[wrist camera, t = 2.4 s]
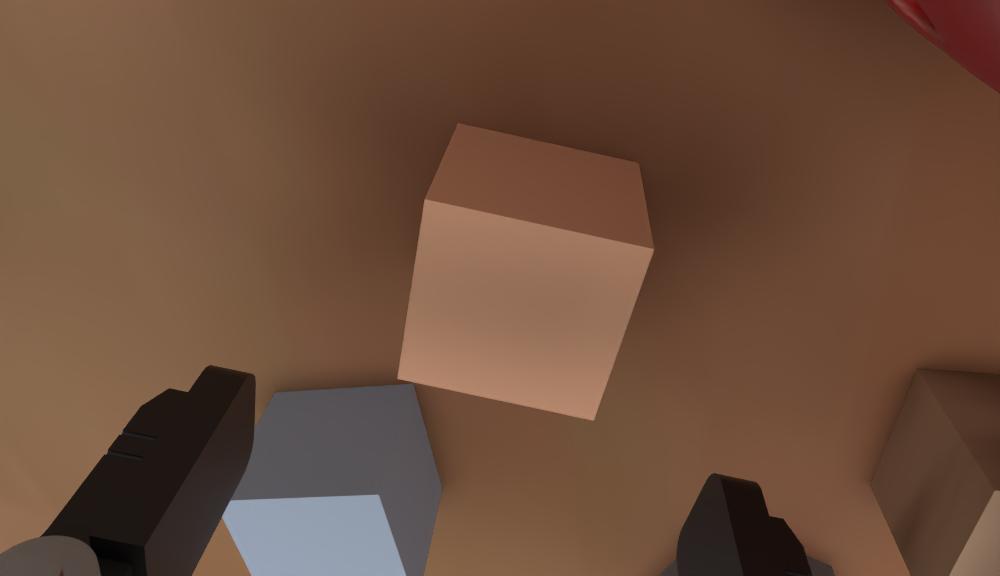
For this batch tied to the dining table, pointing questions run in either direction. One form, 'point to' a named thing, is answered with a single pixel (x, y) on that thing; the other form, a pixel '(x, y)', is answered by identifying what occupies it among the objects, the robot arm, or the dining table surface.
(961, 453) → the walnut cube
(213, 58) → the dining table surface
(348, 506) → the slate blue cube
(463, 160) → the terracotta cube
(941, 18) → the plant pot
